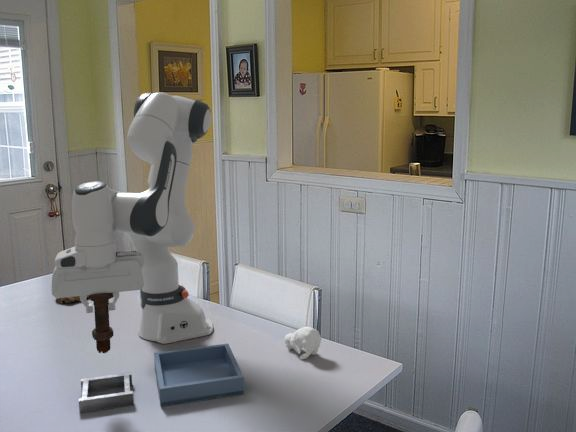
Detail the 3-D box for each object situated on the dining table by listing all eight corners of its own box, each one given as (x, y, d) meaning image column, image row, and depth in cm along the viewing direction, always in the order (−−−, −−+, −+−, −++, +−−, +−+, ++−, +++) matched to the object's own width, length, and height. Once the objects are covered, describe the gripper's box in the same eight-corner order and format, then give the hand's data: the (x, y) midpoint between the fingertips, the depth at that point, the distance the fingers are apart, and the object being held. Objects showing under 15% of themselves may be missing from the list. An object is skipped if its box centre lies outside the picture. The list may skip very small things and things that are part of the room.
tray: (228, 358, 158) (228, 343, 157) (244, 394, 140) (243, 377, 139) (154, 368, 153) (153, 352, 152) (160, 406, 134) (159, 389, 133)
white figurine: (306, 332, 154) (277, 324, 163) (308, 363, 155) (279, 352, 164) (322, 326, 158) (293, 318, 167) (324, 356, 159) (295, 346, 168)
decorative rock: (80, 290, 216) (49, 304, 203) (79, 279, 215) (47, 293, 202) (103, 293, 211) (72, 307, 198) (102, 282, 210) (70, 296, 197)
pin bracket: (132, 383, 145) (131, 372, 144) (133, 405, 135) (132, 393, 134) (81, 390, 141) (81, 379, 141) (79, 413, 131) (78, 401, 131)
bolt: (118, 346, 138) (116, 287, 135) (113, 355, 133) (110, 294, 130) (94, 346, 138) (91, 287, 135) (88, 355, 133) (84, 294, 130)
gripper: (142, 246, 136) (146, 301, 139) (50, 254, 131) (56, 310, 134) (143, 253, 131) (147, 310, 134) (47, 261, 125) (53, 321, 128)
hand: (101, 310), depth 134 cm, fingers closed on bolt, 4 cm apart
